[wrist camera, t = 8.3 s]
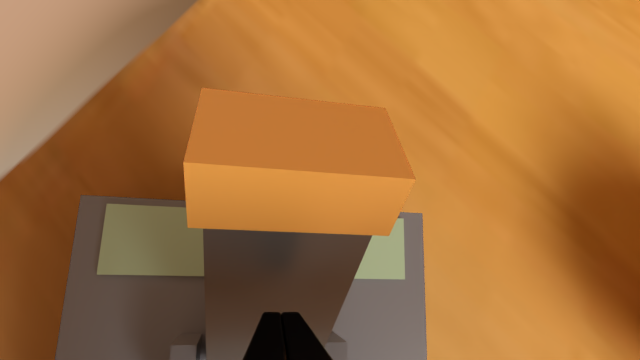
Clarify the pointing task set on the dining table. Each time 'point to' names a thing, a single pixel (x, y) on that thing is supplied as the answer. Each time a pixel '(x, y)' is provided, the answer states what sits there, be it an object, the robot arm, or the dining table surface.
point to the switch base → (189, 292)
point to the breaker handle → (286, 206)
